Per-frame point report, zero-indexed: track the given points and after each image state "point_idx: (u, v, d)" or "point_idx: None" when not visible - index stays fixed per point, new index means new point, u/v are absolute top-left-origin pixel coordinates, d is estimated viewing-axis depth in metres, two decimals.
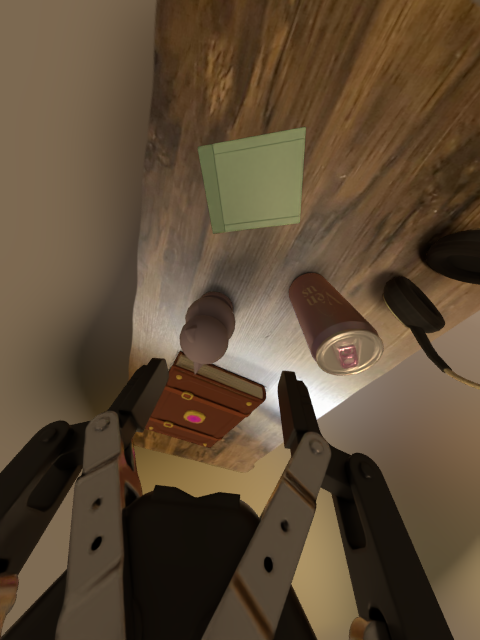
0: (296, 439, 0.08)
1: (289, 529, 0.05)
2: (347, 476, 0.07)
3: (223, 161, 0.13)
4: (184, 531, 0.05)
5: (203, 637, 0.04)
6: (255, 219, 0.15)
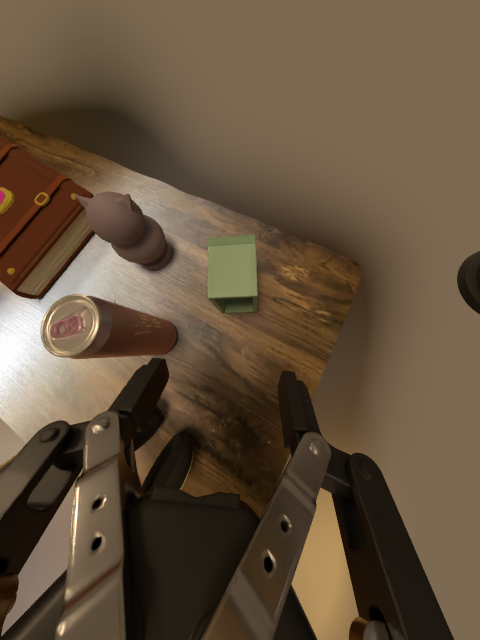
0: (296, 439, 0.08)
1: (289, 529, 0.05)
2: (347, 476, 0.07)
3: (247, 248, 0.21)
4: (184, 531, 0.05)
5: (203, 637, 0.04)
6: (213, 267, 0.21)
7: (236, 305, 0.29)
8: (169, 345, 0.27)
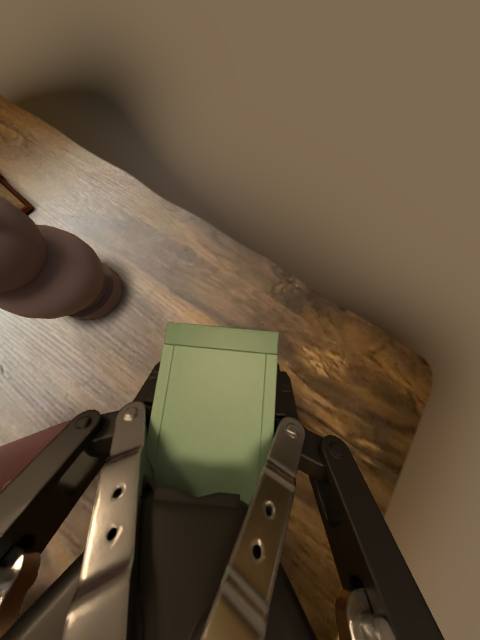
0: (275, 424, 0.09)
1: (273, 512, 0.05)
2: (320, 456, 0.08)
3: (256, 366, 0.09)
4: (184, 531, 0.05)
5: None
6: (167, 404, 0.08)
7: None
8: None
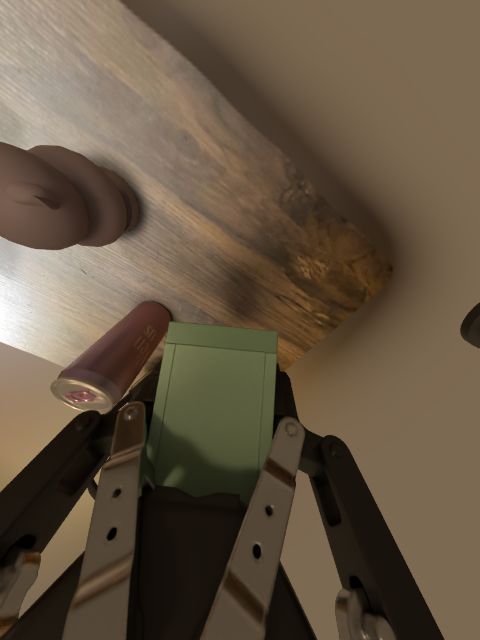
0: (275, 424, 0.09)
1: (273, 512, 0.05)
2: (319, 456, 0.08)
3: (255, 364, 0.09)
4: (184, 531, 0.05)
5: None
6: (168, 401, 0.09)
7: None
8: (166, 332, 0.28)
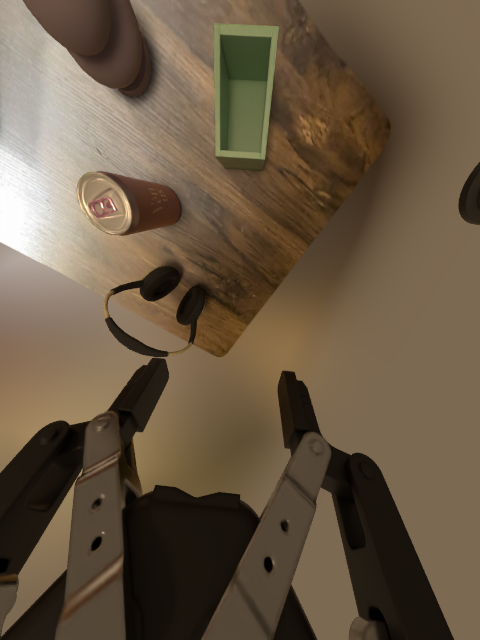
0: (296, 439, 0.08)
1: (289, 529, 0.05)
2: (347, 475, 0.07)
3: None
4: (184, 531, 0.05)
5: (203, 637, 0.04)
6: None
7: None
8: (176, 217, 0.30)
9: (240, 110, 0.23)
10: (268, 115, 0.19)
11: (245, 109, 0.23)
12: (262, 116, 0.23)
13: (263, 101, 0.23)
